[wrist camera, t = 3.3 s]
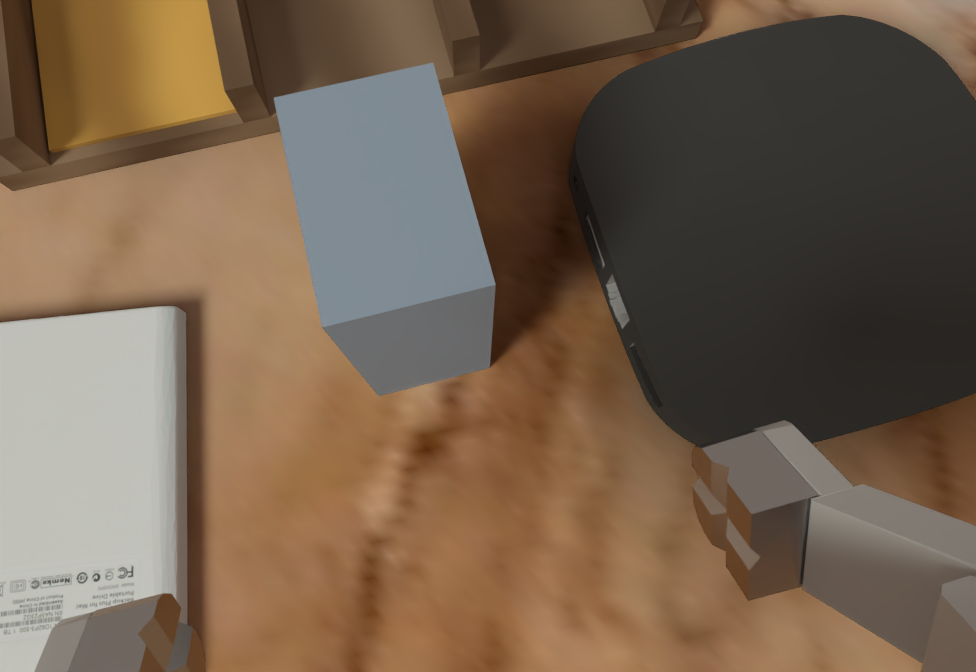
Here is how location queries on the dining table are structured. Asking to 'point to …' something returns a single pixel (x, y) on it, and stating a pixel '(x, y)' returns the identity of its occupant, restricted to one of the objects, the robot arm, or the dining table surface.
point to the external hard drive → (90, 469)
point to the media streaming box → (787, 227)
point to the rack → (264, 64)
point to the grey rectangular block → (390, 228)
